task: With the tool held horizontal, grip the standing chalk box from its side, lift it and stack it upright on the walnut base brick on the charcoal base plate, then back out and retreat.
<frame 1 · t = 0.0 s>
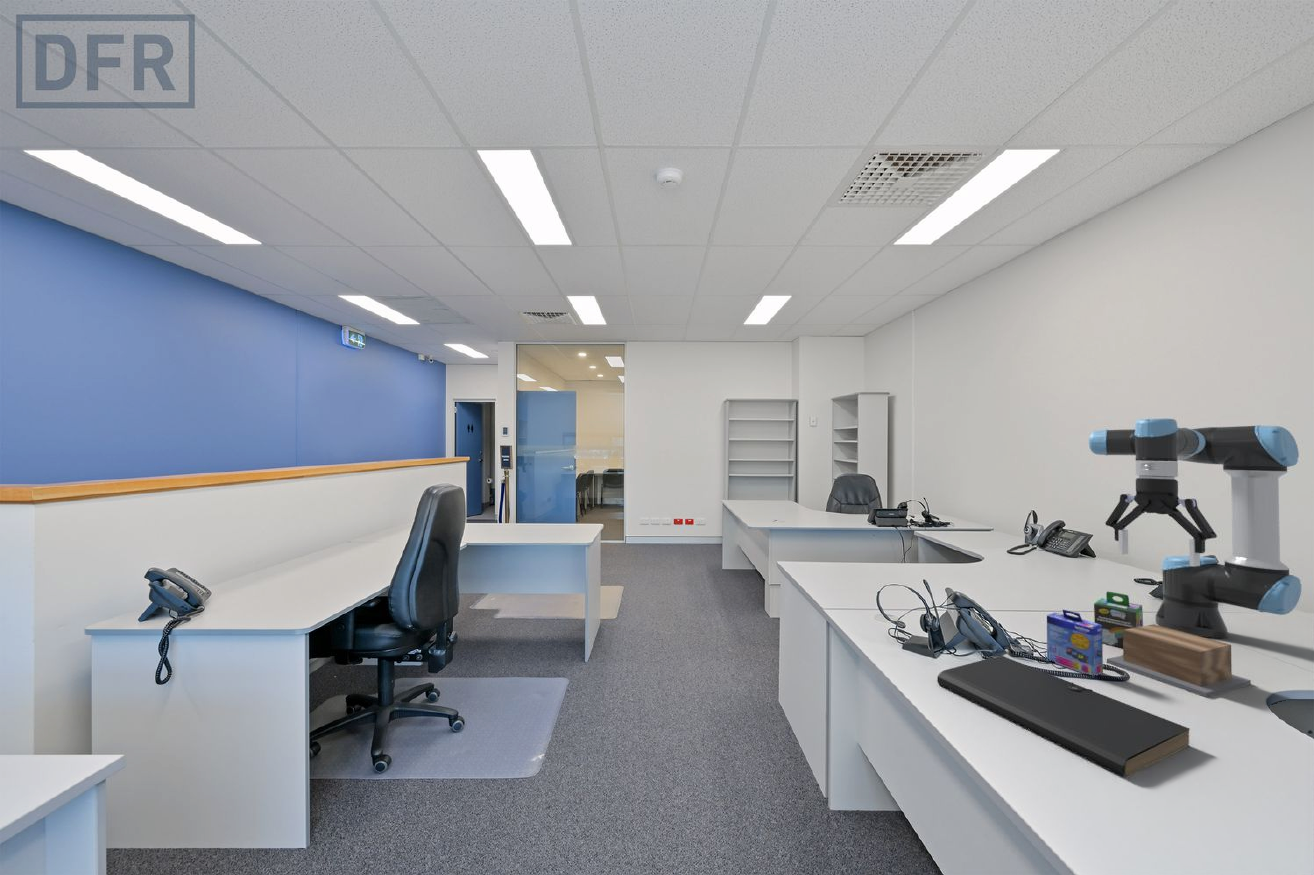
hand: (1157, 559, 120), 28 cm above the table, tool pointing down, fingers open, 13 cm apart
walnut base brick: (1175, 652, 117), on the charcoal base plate, point 5 cm above the table
ink cartridge box: (1073, 667, 119), on the table
chalk box: (1118, 644, 135), on the table
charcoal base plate: (1175, 672, 117), on the table
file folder: (1050, 715, 97), on the table
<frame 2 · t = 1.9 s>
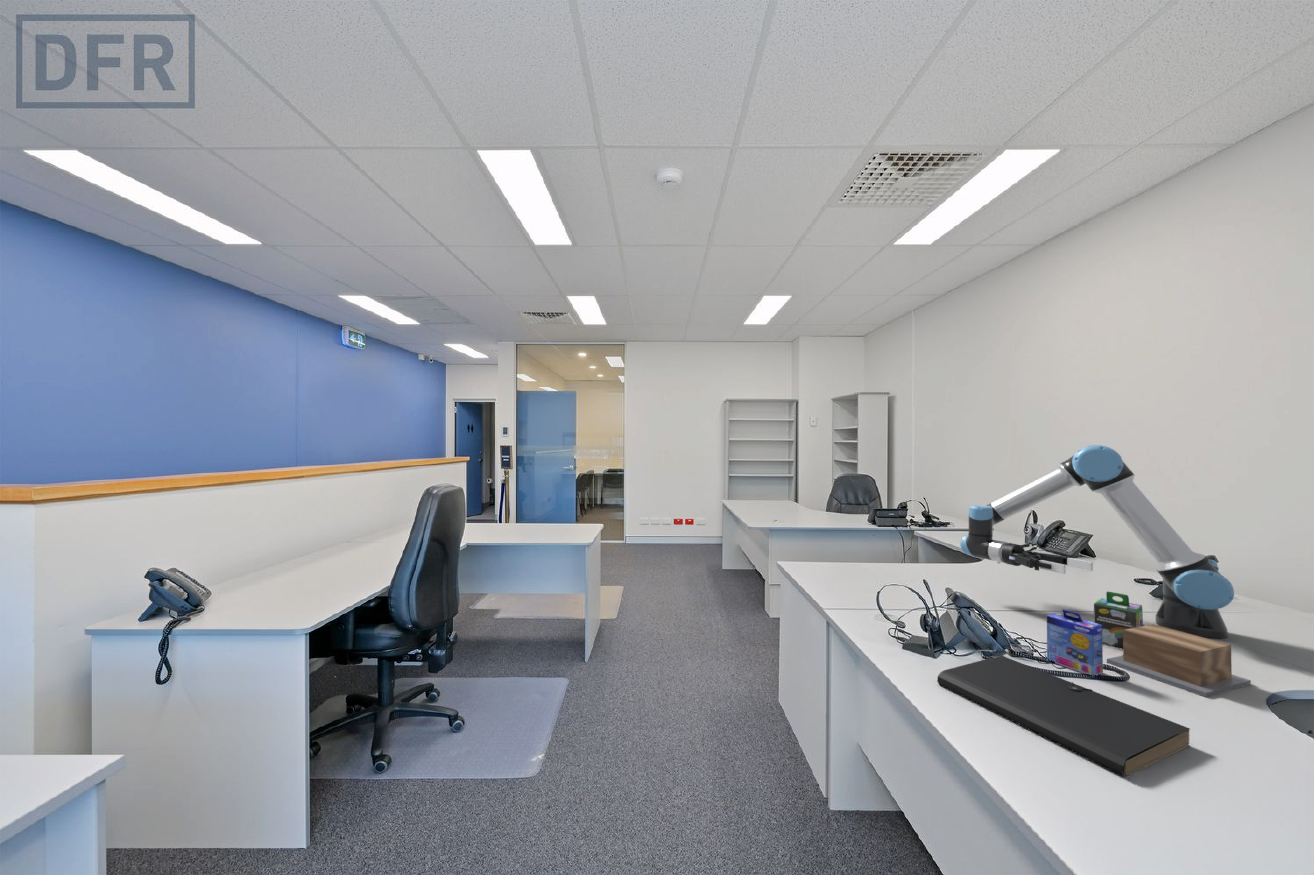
hand: (1078, 568, 145), 20 cm above the table, tool horizontal, fingers open, 13 cm apart
nothing on the table moved.
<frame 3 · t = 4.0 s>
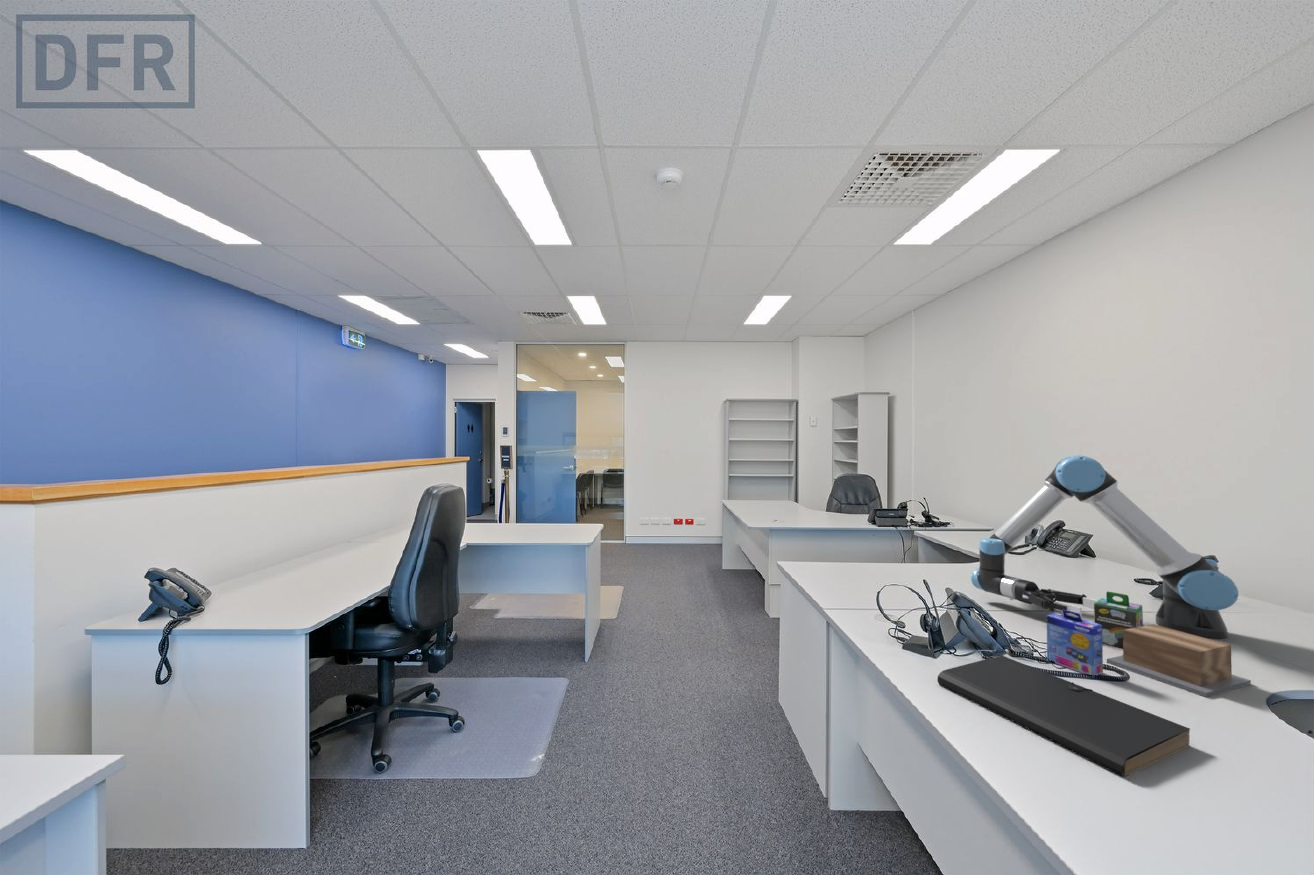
hand: (1095, 610, 140), 8 cm above the table, tool horizontal, fingers open, 13 cm apart
nothing on the table moved.
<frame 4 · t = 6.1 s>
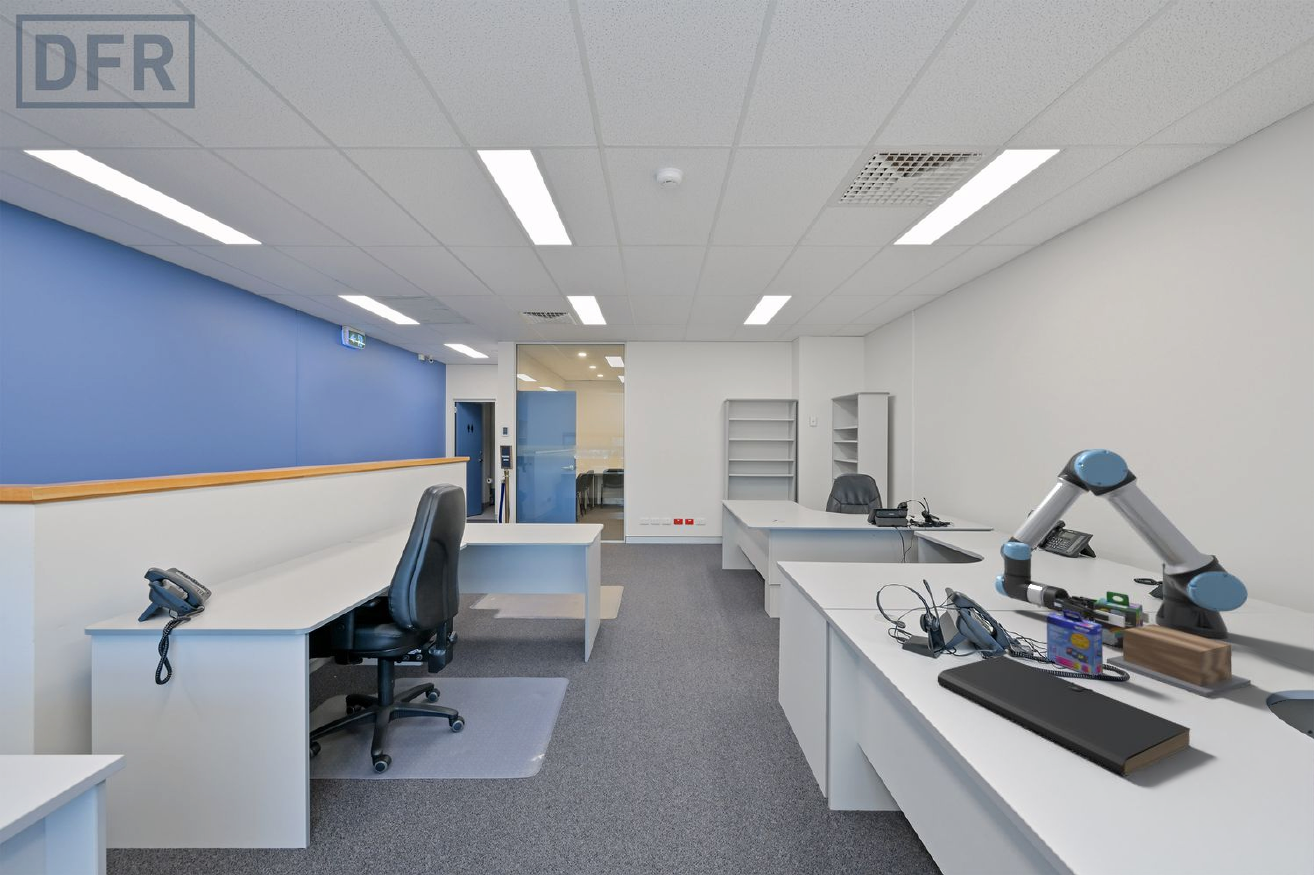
hand: (1136, 620, 132), 8 cm above the table, tool horizontal, fingers closed on chalk box, 11 cm apart
chalk box: (1118, 643, 135), on the table, touching gripper
everything else where it was.
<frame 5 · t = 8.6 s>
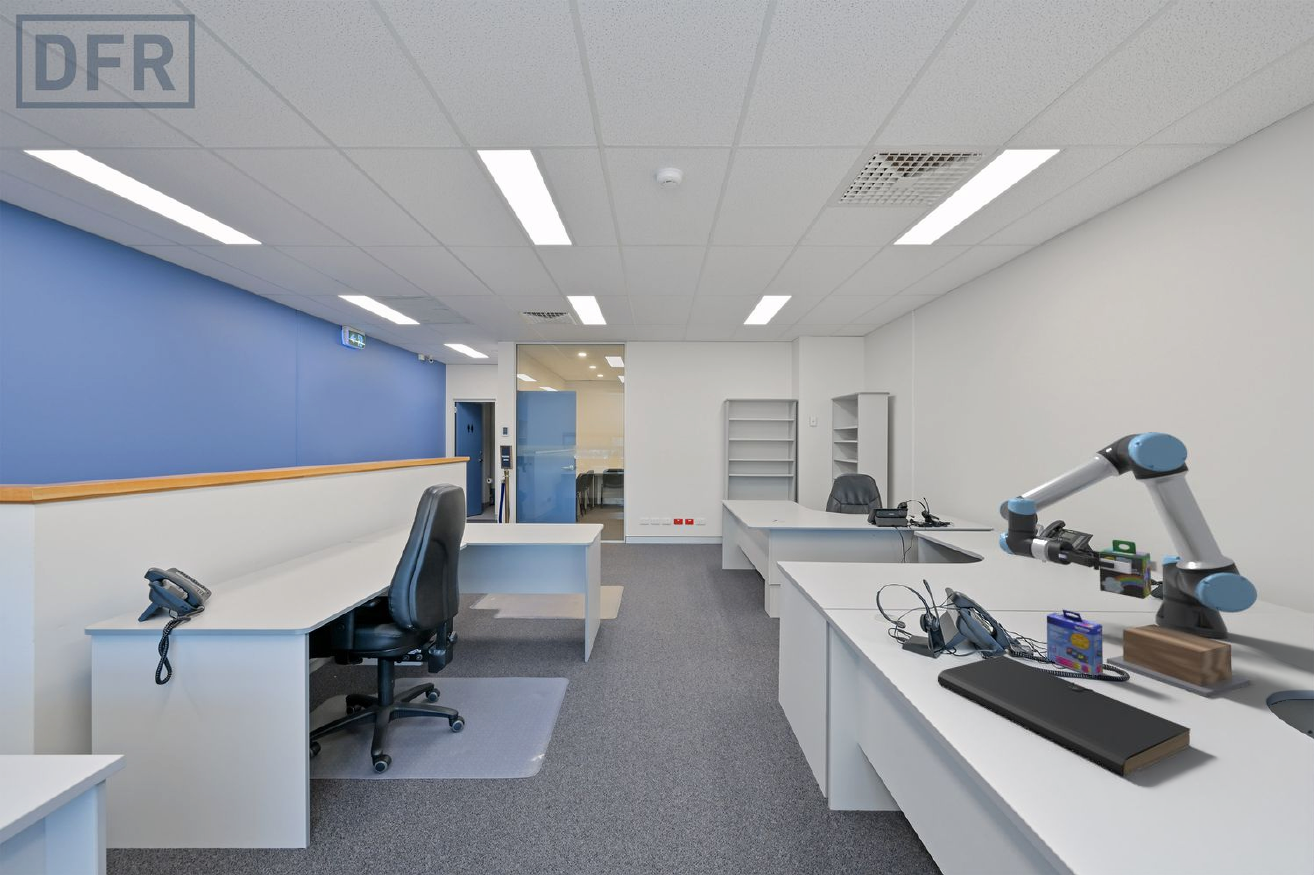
hand: (1143, 567, 128), 24 cm above the table, tool horizontal, fingers closed on chalk box, 11 cm apart
chalk box: (1125, 593, 131), point 16 cm above the table, touching gripper
everything else where it was.
when the fingers open (18 cm above the table, at t = 11.3 s): chalk box drops 1 cm, resting on walnut base brick.
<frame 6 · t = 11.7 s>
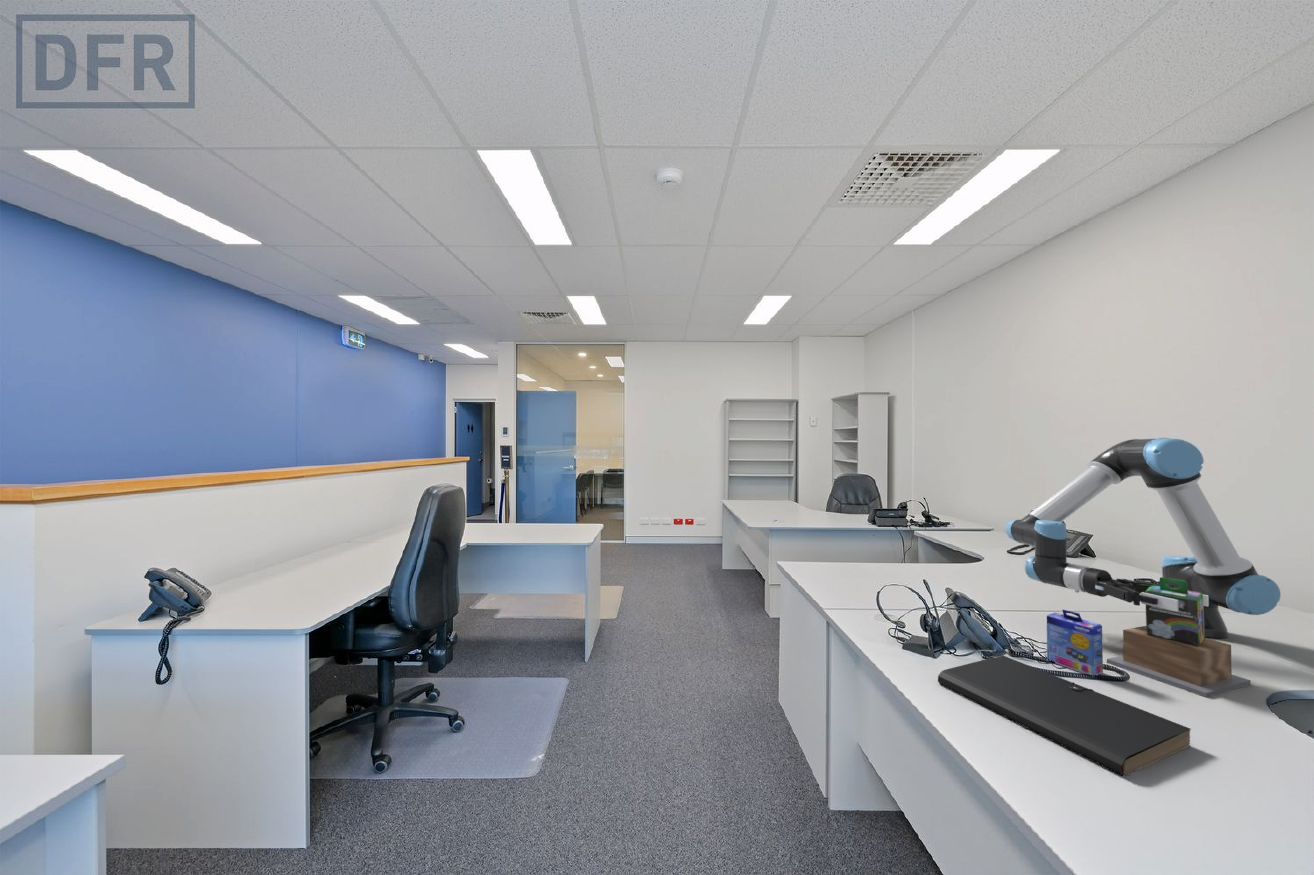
hand: (1193, 603, 114), 18 cm above the table, tool horizontal, fingers open, 13 cm apart
chalk box: (1174, 637, 117), point 9 cm above the table, touching walnut base brick
everything else where it was.
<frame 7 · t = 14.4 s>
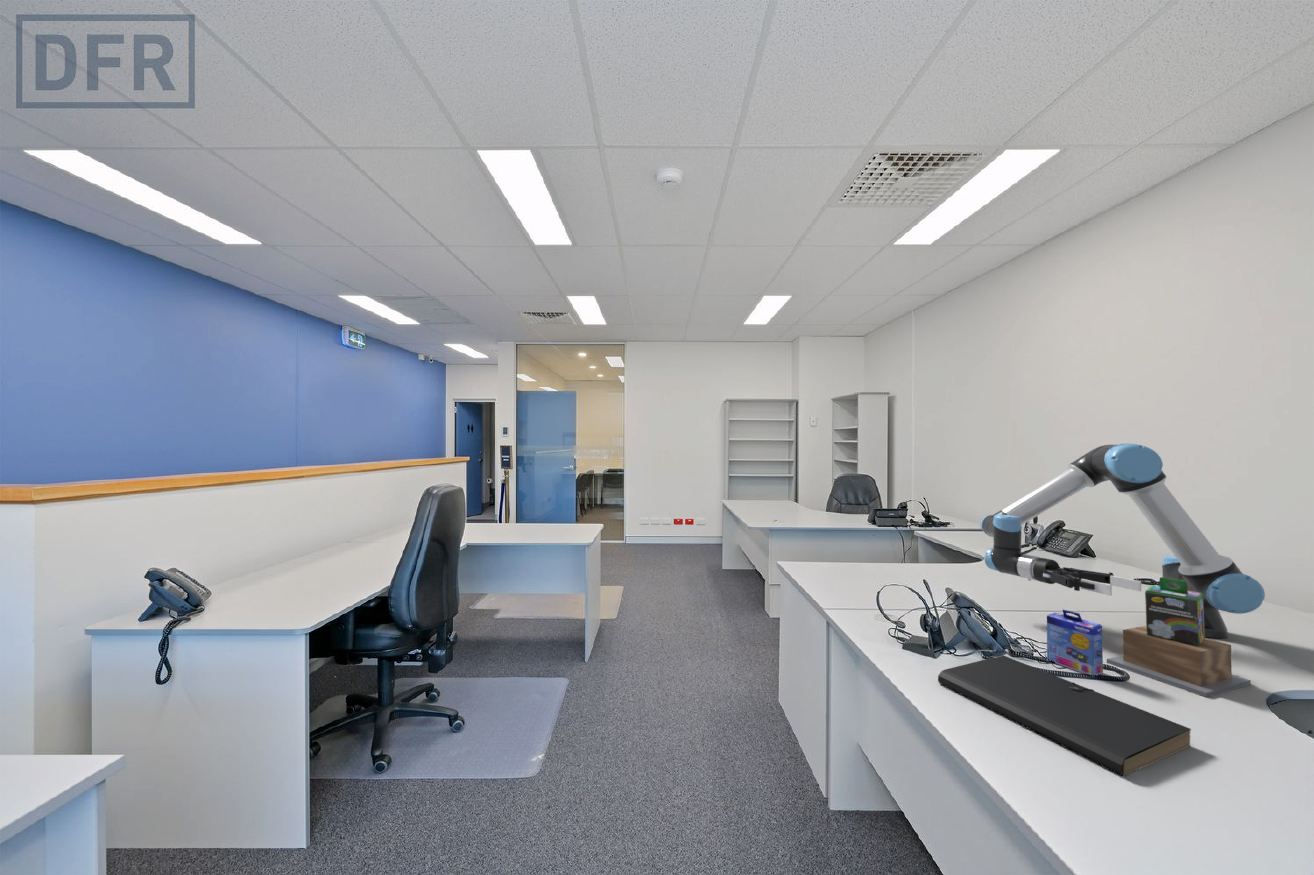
hand: (1126, 588, 126), 19 cm above the table, tool horizontal, fingers open, 13 cm apart
nothing on the table moved.
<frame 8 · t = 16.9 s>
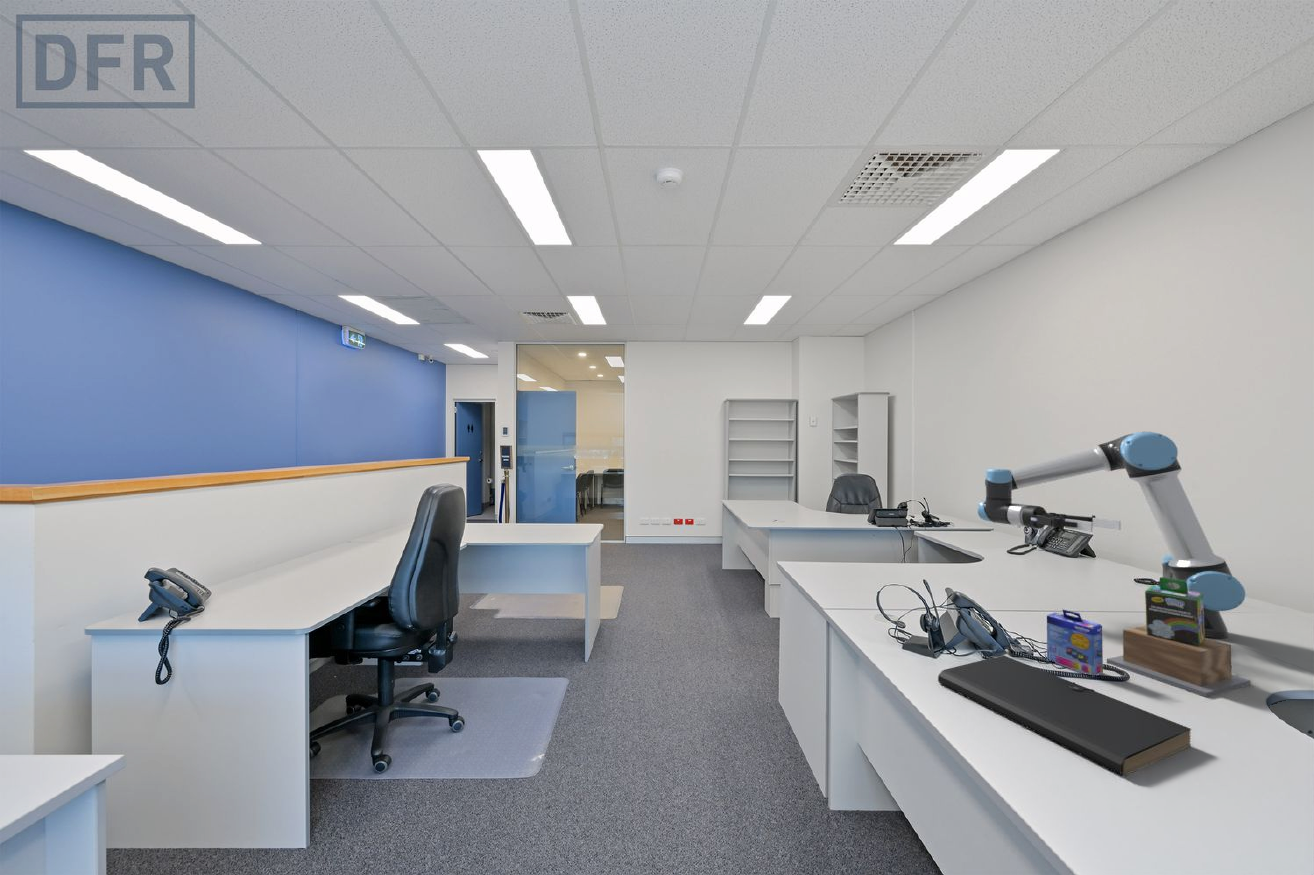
hand: (1106, 526, 137), 34 cm above the table, tool horizontal, fingers open, 13 cm apart
nothing on the table moved.
at the end: chalk box inside the target area (0.1 cm from its centre), point 8.8 cm above the table; chalk box tilted 0°; the gripper is holding nothing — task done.
